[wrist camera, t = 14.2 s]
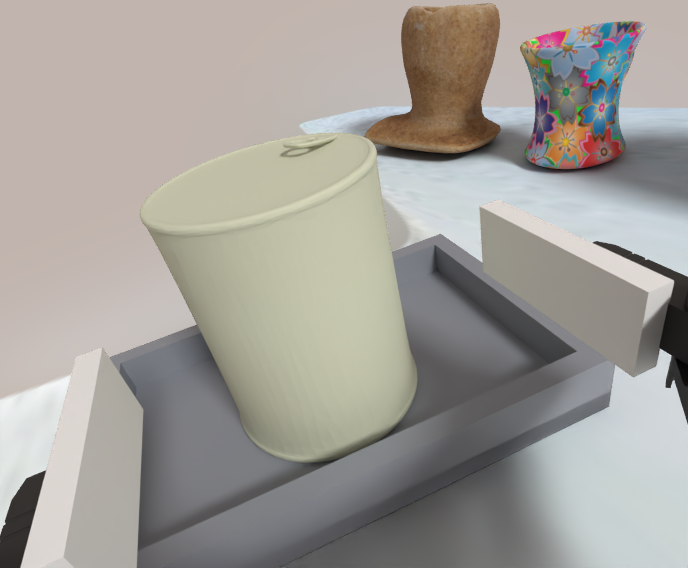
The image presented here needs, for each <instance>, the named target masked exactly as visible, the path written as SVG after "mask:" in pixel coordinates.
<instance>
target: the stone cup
mask: <svg viewBox="0 0 688 568" xmlns="http://www.w3.org/2000/svg"><path fill="white" fill-rule="evenodd" d="M499 29H500V19H499V13H498V9H497V8H496V6H495V5H494V4H492V3H489V4H488V3H487V4H476V5H457V6H448V7H444V8H443V7H421V6H414V7H411V8H410V9H409V10H408V12H407V14H406V16H405V18H404V20H403V24H402V33H401V43H402V54H403V62H404V68H405V72H406V76H407V79H408V84H409V88H410V93H411V98H412V109H411V111H410V112H408V113H406V114H401V115H394V116H390V117H388V118H385V119H383V120H381V121H379V122H378V123H376V124H375V125H373V126H372V127H371V128H370V129H369V130H368V131H367V133H366V134H365V138H367V139H369V140H370V141H371V142H372V143H376V144H380V145H386V146H390V147H397V148H402V149H410V150H417V151H425V152H438V153H460V152H466V151H470V150H473V149H476V148H479V147H481V146H483V145H485V144H487V143H489V142H490V141H492V140H493V139H495V138H496V136H497V135H498V133H499V132H500V130H501V129H500V126H499V125H497V124H496V123H494V122H492V121H490V120H488V119H487V118H485V117H484V115H483V113H482V107H481V100H482V97H483V93H484V89H485V86H486V83H487V80H488V77H489V74H490V71H491V68H492V64H493V60H494V56H495V51H496V47H497V42H498V37H499Z"/></svg>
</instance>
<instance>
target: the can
mask: <svg viewBox="0 0 688 568" xmlns="http://www.w3.org/2000/svg"><path fill="white" fill-rule="evenodd" d="M140 217H141V220H142V222H143V224H144V225H145V226H146V227H147V229H148V231H149V232H150V234H151V236H152V238H153V240H154V241H155V243H156V245H157V247H158V248H159V250H160V252H161V254H162V256H163V258H164V260H165V262H166V264H167V266H168V268H169V270H170V272H171V273H172V276H173V278H174V279H175V281H176V283H177V285H178V287H179V289H180V291H181V293H182V295H183V297H184V299H185V301H186V303H187V305H188V307H189V309H190V311H191V313H192V315H193V317H194V319H195V321H196V323H197V325H198V327H199V329H200V331H201V333H202V335H203V337H204V339H205V341H206V343H207V345H208V347H209V349H210V351H211V353H212V355H213V357H214V359H215V361H216V364H217V366H218V368H219V370H220V372H221V374H222V376H223V378H224V380H225V382H226V384H227V386H228V388H229V390H230V392H231V395H232V397H233V399H234V401H235V403H236V406H237V408H238V410H239V412H240V418H241V422H242V425H243V427H244V430H245V431H246V433H247V435H248V436H249V438H250V439H251V440H252V441H253V442H254V443H255V444H256V445H257V446H258V447H259V448H261V449H262V450H263V451H265V452H267V453H269V454H271V455H273V456H275V457H277V458H281V459H284V460H287V461H292V462H301V463H317V462H326V461H332V460H336V459H340V458H344V457H346V456H348V455H350V454H353V453H355V452H357V451H359V450H361V449H364V448H366V447H368V446H370V445H372V444H374V443H376V442H378V441H379V440H381V439H382V438H383V437H384V436H386V435H387V434H388V433H389V432H390V431H392V430H393V428H394V427H395V426H396V425H397V424H398V423H399V422H400V421H401V420H402V418H403V417H404V415H405V414H406V413H407V411H408V409H409V408H410V406H411V404H412V402H413V399H414V396H415V393H416V389H417V381H418V377H417V368H416V363H415V361H414V358H413V356H412V354H411V351H410V347H409V342H408V337H407V332H406V327H405V322H404V317H403V312H402V306H401V301H400V296H399V290H398V285H397V279H396V274H395V268H394V262H393V256H392V251H391V245H390V239H389V234H388V228H387V222H386V217H385V211H384V205H383V199H382V193H381V186H380V180H379V173H378V165H377V151H376V147H375V145H374V144H373V143H372V142H371V141H370V140H369V139H367V138H365V137H362V136H359V135H354V134H348V133H318V134H308V135H301V136H295V137H289V138H284V139H279V140H274V141H270V142H266V143H261V144H257V145H254V146H251V147H247V148H244V149H240V150H238V151H234V152H231V153H228V154H226V155H223V156H220V157H217V158H215V159H212V160H210V161H207V162H205V163H203V164H200V165H198V166H196V167H194V168H192V169H189V170H187V171H185V172H184V173H182V174H180V175H178V176H176V177H174V178H173V179H171V180H169V181H168V182H166V183H165V184H163V185H162V186H160V187H159V188H158V189H156V190H155V191H154V192H153V193H152V194H151V195H150V196H149V197H148V198H147V199H146V200H145V202H144V203H143V205H142V207H141V210H140Z"/></svg>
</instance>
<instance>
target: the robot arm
mask: <svg viewBox="0 0 688 568" xmlns="http://www.w3.org/2000/svg"><path fill="white" fill-rule="evenodd" d="M480 223H481V241H482V259H483V272H484V273H486V274H487V275H489V276H490V277H492V278H493V279H494V280H496V281H497V282H499V283H500V284H502V285H503V286H504V287H506V288H507V289H509V290H510V291H511V292H513V293H514V294H516V295H517V296H519V297H520V298H521V299H523V300H524V301H526V302H527V303H528V304H530V305H531V306H533V307H534V308H536V309H537V310H538V311H540V312H541V313H543V314H544V315H546V316H547V317H548V318H550V319H551V320H553V321H554V322H555V323H557V324H558V325H560V326H561V327H563V328H564V329H565V330H567V331H568V332H570V333H571V334H573V335H574V336H575V337H577V338H578V339H580V340H581V341H582V342H584V343H585V344H587V345H588V346H590V347H591V348H592V349H594V350H595V351H597V352H598V353H599V354H601V355H602V356H604V357H605V358H607V359H608V360H609V361H611V362H612V363H614V364H615V365H617V366H618V367H619V368H621V369H622V370H624V371H625V372H626V373H628V374H629V375H631V376H632V377H635V376H637V375H639V374H641V373H643V372H645V371H647V370H649V369H651V368H653V367H655V366H656V365H657V360H658V355H659V351H660V349H662V350H664V351H665V352H667V353H669V354H670V355H672V357H671V361H670V366H669V370H668V374H667V378H666V388H671V384H672V381H673V380H675V384H676V387H677V390H678V393H679V397H680V400H681V403H682V407H683V410H684V413H685V416H686V420H687V423H688V277H687V276H684V275H682V274H680V273H678V272H675V271H673V270H671V269H669V268H666V267H664V266H662V265H660V264H657V263H655V262H653V261H651V260H645V258H644V257H642V256H639V255H637V254H632V252H630V251H628V250H626V249H623V248H621V247H619V246H617V245H613V244H608V243H603V242H598V241H596V242H593V243H591V242H589V241H587V240H585V239H583V238H581V237H578V236H576V235H574V234H572V233H570V232H568V231H565V230H563V229H561V228H559V227H557V226H555V225H552V224H550V223H548V222H546V221H544V220H542V219H539V218H537V217H535V216H533V215H531V214H529V213H526V212H524V211H522V210H520V209H518V208H515V207H513V206H511V205H509V204H507V203H505V202H502V201H500V200H495V201H493V202H490V203H487V204H484V205H482V206H480ZM142 431H143V408H142V407H141V405H140V404H139V402H138V401H137V399H136V397H135V396H134V394H133V393H132V391H131V390H130V388H129V387H128V385H127V384H126V382H125V381H124V379H123V378H122V376H121V375H120V373H119V372H118V370H117V369H116V367H115V366H114V364H113V362H112V361H111V359H110V358H109V356H108V355H107V353H106V352H105V350H104V349H103V347H102V348H99V349H96V350H94V351H91V352H88V353H85V354H83V355H80V356H77V357H76V359H75V363H74V367H73V371H72V375H71V378H70V382H69V386H68V390H67V393H66V397H65V401H64V405H63V409H62V412H61V416H60V420H59V424H58V428H57V431H56V435H55V439H54V443H53V447H52V450H51V454H50V458H49V462H48V465H47V469H46V471H43V472H41V473H38V474H36V475H33V476H31V477H29V478H26V480H25V481H24V483H23V484H22V486H21V487H20V489H19V490H18V492H17V493H16V495H15V496H14V498H13V499H12V501H11V504H10V507H9V510H8V513H7V516H6V519H5V523H6V525H4V526H3V529H2V532H1V535H0V568H137V549H138V525H139V501H140V478H141V454H142Z"/></svg>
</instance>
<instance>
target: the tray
mask: <svg viewBox="0 0 688 568" xmlns="http://www.w3.org/2000/svg"><path fill="white" fill-rule="evenodd" d="M392 256H393V262H394V268H395V274H396V279H397V285H398V290H399V296H400V301H401V306H402V312H403V317H404V322H405V327H406V332H407V337H408V342H409V347H410V351H411V354H412V356H413V358H414V361H415V363H416V368H417V377H418V381H417V389H416V393H415V396H414V399H413V402H412V404H411V406H410V408H409V409H408V411H407V413H406V414H405V415H404V417H403V418H402V420H401V421H400V422H399V423H398V424H397V425H396V426H395V427H394V428H393V430H392V431H390V432H389V433H388V434H387V435H386V436H384V437H383V438H382V439H381V440H379V441H378V442H376V443H374V444H372V445H370V446H368V447H366V448H364V449H361V450H359V451H357V452H355V453H353V454H350V455H348V456H346V457H344V458H340V459H336V460H332V461H326V462H317V463H301V462H292V461H287V460H284V459H281V458H277V457H275V456H273V455H271V454H269V453H267V452H265V451H263V450H262V449H261V448H259V447H258V446H257V445H256V444H255V443H254V442H253V441H252V440H251V439H250V438H249V436H248V435H247V433H246V431H245V430H244V427H243V425H242V422H241V418H240V412H239V410H238V408H237V406H236V403H235V401H234V399H233V397H232V395H231V392H230V390H229V388H228V386H227V384H226V382H225V380H224V378H223V376H222V374H221V372H220V370H219V368H218V366H217V364H216V361H215V359H214V357H213V355H212V353H211V351H210V349H209V347H208V345H207V343H206V341H205V339H204V337H203V335H202V333H201V331H200V329H199V327H198V325H195V326H193V327H190V328H187V329H184V330H182V331H179V332H176V333H174V334H171V335H168V336H166V337H163V338H160V339H158V340H155V341H152V342H150V343H147V344H144V345H142V346H139V347H136V348H134V349H131V350H128V351H126V352H123V353H120V354H117V355H115V356H112V357H109V358H110V359H111V361H112V362H113V364H114V366H115V367H116V369H117V370H118V372H119V373H120V375H121V376H122V378H123V379H124V381H125V382H126V384H127V385H128V387H129V388H130V390H131V391H132V393H133V394H134V396H135V397H136V399H137V401H138V402H139V404H140V405H141V407H142V408H143V431H142V454H141V478H140V501H139V525H138V549H137V568H279V567H281V566H283V565H285V564H287V563H289V562H291V561H293V560H296V559H298V558H300V557H302V556H304V555H306V554H308V553H310V552H312V551H314V550H316V549H318V548H320V547H322V546H324V545H326V544H328V543H330V542H332V541H334V540H336V539H339V538H341V537H343V536H345V535H347V534H349V533H351V532H353V531H355V530H357V529H359V528H361V527H363V526H365V525H367V524H369V523H371V522H373V521H375V520H377V519H379V518H382V517H384V516H386V515H388V514H390V513H392V512H394V511H396V510H398V509H400V508H402V507H404V506H406V505H408V504H410V503H412V502H414V501H416V500H418V499H420V498H422V497H425V496H427V495H429V494H431V493H433V492H435V491H437V490H439V489H441V488H443V487H445V486H447V485H449V484H451V483H453V482H455V481H457V480H459V479H461V478H463V477H465V476H468V475H470V474H472V473H474V472H476V471H478V470H480V469H482V468H484V467H486V466H488V465H490V464H492V463H494V462H496V461H498V460H500V459H502V458H504V457H506V456H508V455H511V454H513V453H515V452H517V451H519V450H521V449H523V448H525V447H527V446H529V445H531V444H533V443H535V442H537V441H539V440H541V439H543V438H545V437H547V436H549V435H552V434H554V433H556V432H558V431H560V430H562V429H564V428H566V427H568V426H570V425H572V424H574V423H576V422H578V421H580V420H582V419H584V418H586V417H588V416H590V415H592V414H595V413H597V412H599V411H601V410H603V409H605V408H607V407H609V402H610V395H611V389H612V382H613V375H614V368H615V364H614V363H612V362H611V361H609V360H608V359H607V358H605V357H604V356H602V355H601V354H599V353H598V352H597V351H595V350H594V349H592V348H591V347H590V346H588V345H587V344H585V343H584V342H582V341H581V340H580V339H578V338H577V337H575V336H574V335H573V334H571V333H570V332H568V331H567V330H565V329H564V328H563V327H561V326H560V325H558V324H557V323H555V322H554V321H553V320H551V319H550V318H548V317H547V316H546V315H544V314H543V313H541V312H540V311H538V310H537V309H536V308H534V307H533V306H531V305H530V304H528V303H527V302H526V301H524V300H523V299H521V298H520V297H519V296H517V295H516V294H514V293H513V292H511V291H510V290H509V289H507V288H506V287H504V286H503V285H502V284H500V283H499V282H497V281H496V280H494V279H493V278H492V277H490V276H489V275H487V274H486V273H484V272H483V263H482V262H480V261H479V260H477V259H476V258H474V257H473V256H472V255H470V254H469V253H467V252H466V251H464V250H463V249H462V248H460V247H459V246H457V245H456V244H454V243H453V242H451V241H450V240H449V239H447V238H446V237H444V236H443V235H441V234H439V235H436V236H434V237H431V238H428V239H426V240H423V241H420V242H418V243H415V244H412V245H410V246H407V247H404V248H402V249H399V250H396V251H394V252H392Z"/></svg>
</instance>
